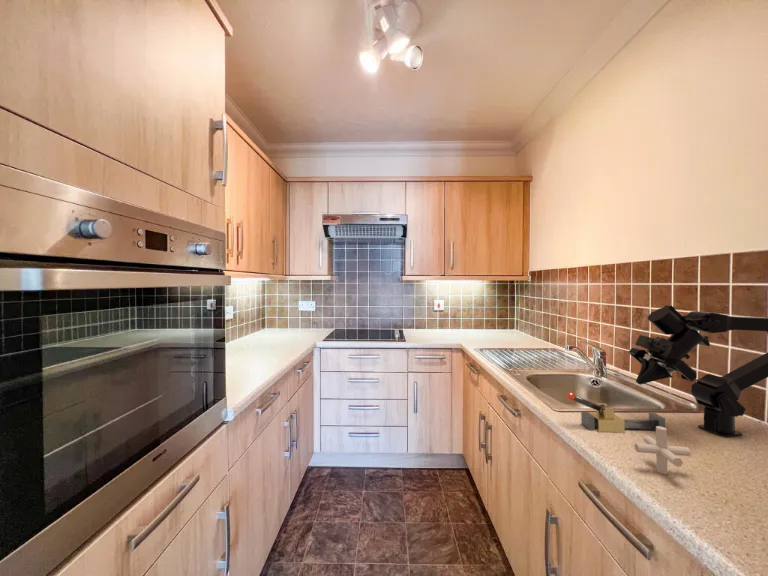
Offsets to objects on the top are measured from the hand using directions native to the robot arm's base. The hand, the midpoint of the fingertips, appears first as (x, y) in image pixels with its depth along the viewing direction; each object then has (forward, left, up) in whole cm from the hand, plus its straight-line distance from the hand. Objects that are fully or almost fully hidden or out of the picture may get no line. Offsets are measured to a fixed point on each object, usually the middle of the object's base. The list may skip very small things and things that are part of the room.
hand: (637, 383), depth 91 cm
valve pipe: (+4, -1, -13) cm, 14 cm away
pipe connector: (+16, +18, -14) cm, 28 cm away
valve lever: (+8, -2, -9) cm, 12 cm away
